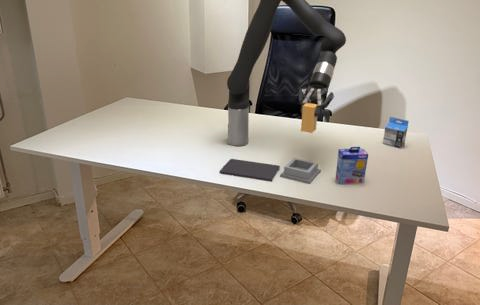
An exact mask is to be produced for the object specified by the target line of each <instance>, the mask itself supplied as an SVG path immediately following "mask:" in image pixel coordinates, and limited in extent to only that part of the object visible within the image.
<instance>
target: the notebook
mask: <svg viewBox="0 0 480 305" xmlns="http://www.w3.org/2000/svg"><path fill="white" fill-rule="evenodd" d="M280 168H281V166H280V165H277V164H269V163H264V162H259V161H257V162H256V161H250V160H242V159H237V158H236V159H235V158H229V160H228V161H227V162H226V163H225V165H224V166H222V168H221V169H220V170H219V174H220V173H221V174H220V175H227V176H232V175H233V176H234V177H238V178H239V177H240V178H246V179H253V180H259V181H265V182H270V183H271V182H273V180H274V179H275V177H276V175H277V173H278V172H279V171H280ZM233 176H232V177H233Z"/></svg>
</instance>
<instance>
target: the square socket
mask: <svg viewBox="0 0 480 305" xmlns="http://www.w3.org/2000/svg"><path fill="white" fill-rule="evenodd" d="M318 166H319V162H316V161H315V162H314V161H311V160H307V159H302V158H297V157H294V158H292V159H291V160H290V161H289V162H288V163H287V164H285V166H284V167H283V171H282V172H281V173H280V174H279V177H280V178H283V179H287V180H291V181H296V182H298V183H299V182H300V183H304V184H308V185H310V184H311V183H312V182H313V181H314V180H315V179H316V178H317V177H318V176H319V174H320V173H321V171H322V169H320V168H318Z"/></svg>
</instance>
